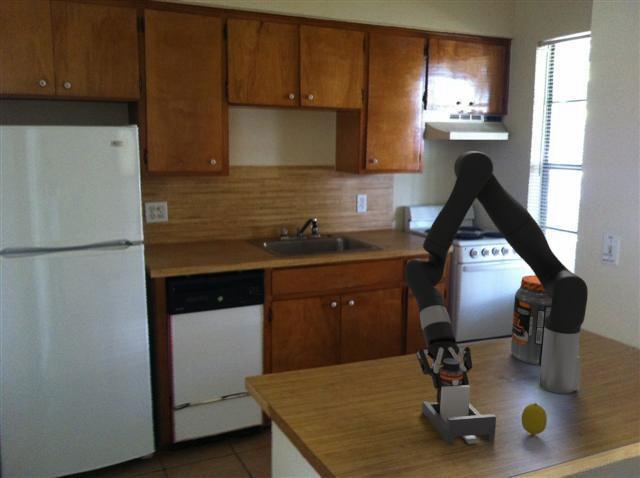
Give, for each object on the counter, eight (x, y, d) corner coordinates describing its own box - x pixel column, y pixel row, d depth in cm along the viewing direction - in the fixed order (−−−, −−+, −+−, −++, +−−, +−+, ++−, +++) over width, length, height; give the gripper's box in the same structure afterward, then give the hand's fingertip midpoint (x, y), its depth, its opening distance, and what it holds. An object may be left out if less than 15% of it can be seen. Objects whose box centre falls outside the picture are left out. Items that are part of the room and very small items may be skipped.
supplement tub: (506, 347, 195) (512, 272, 190) (554, 350, 193) (562, 275, 188) (515, 364, 179) (521, 283, 175) (568, 368, 177) (576, 286, 173)
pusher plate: (466, 419, 142) (468, 385, 141) (487, 442, 131) (490, 405, 130) (439, 421, 141) (441, 386, 139) (458, 444, 130) (461, 407, 129)
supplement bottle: (461, 410, 140) (464, 366, 138) (436, 407, 142) (438, 364, 140) (460, 400, 146) (463, 357, 144) (436, 397, 147) (439, 355, 145)
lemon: (544, 432, 137) (547, 400, 136) (545, 443, 132) (548, 410, 131) (520, 427, 139) (523, 396, 138) (520, 438, 134) (523, 406, 133)
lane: (463, 409, 148) (465, 387, 147) (494, 440, 133) (496, 416, 132) (422, 412, 146) (423, 390, 145) (447, 444, 131) (449, 420, 130)
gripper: (414, 321, 146) (429, 385, 137) (467, 319, 149) (485, 381, 140) (406, 334, 152) (420, 396, 143) (457, 332, 155) (474, 392, 146)
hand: (452, 388), depth 141 cm, fingers closed on supplement bottle, 6 cm apart
